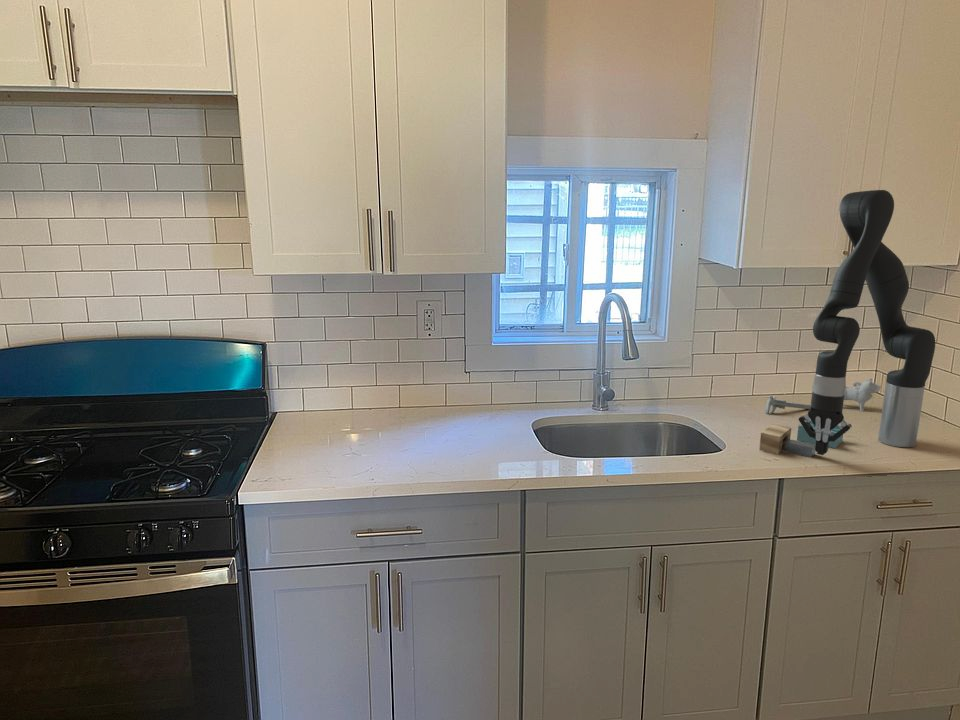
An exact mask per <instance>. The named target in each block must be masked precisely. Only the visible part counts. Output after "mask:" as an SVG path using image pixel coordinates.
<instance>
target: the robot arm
mask: <svg viewBox="0 0 960 720" xmlns="http://www.w3.org/2000/svg"><path fill="white" fill-rule="evenodd" d="M894 210H895V199H894V197H893V195H892V194H891V192H889V191H888V190H885V189H874V190H861V191H854V192H849V193H847V194H845V195H844V196H843V197H842V199H841V201H840V202H839V217H840V221H841V223H842V225H843V228H844V229H845V232H846V234H847V236H848V238H849V240H850V243H851V244H852V246H853V249H852V251H850V253H849V254H848V255H847V257H846V258H845V259H844V260H843V261H842V262H841V263H840V265H839V267H838V268H837V270H836V272H835V274H834V277H833V280H832V284H831V289H830V293H829V296H828V298H827V300H826V301H825V304H824V305H823V307H822V308H821V310H820V311H819V314H818V315H817V316H816V318H815V320H814V322H813V326H812V333H813V336H814V338H815V339H816V340H817V341H820V342H824V343H829V344H836V345H837V347H836V349H835V350H825V351H821V352H819V353H818V355H817V358H816V365H815V375H814V378H813V382H812V391H811V399H810V400H811V401H810V405H811V407H810V409H808V411H807V413H806V414H804V415H800V416H799V418H798V421H799V423H800V425H802V426H803V427H804V429H805V431H806V432H807V434H808V435H809V437H813V438H815V439H816V444H814V445H815V453H816V455H821V456H824V455H825V454H827V453H828V451H829V447H828V445H829V442H830V441H832V442H834V441H835V440H837V439H838V438H839V437H840V436H842V435H843V436H844V435H845V433H847V432H848V431H849V430H850V429H851V428H852V424H851V423H847V421H845V419H844V418H845V417H844V413H843V409H844V402H845V400H844V395H845V387H847V386H846V384H847V379H846V376H847V370H848V369H847V368H848V362H849V359H850V356H851V353H852V351H853V349H854V346H855V344H856V343H857V340H858V338H859V336H860V329H861V327H860V325H859V322H858V321H857V319H855V318H853V317H848V316H840V315H838V314H839V313H840V312H841V311H844V310H849V309H855V308H857V307H858V306H859V304H860V301H861V297H862V294H863V289H864V286H865V282H866V285H867V288H868V291H869V294H870V295H871V298H872V299H871V300H872V302H873V305H874V309H875V311H876V315H877V319H878V323H879V327H880V332H881V337H882V338H881V339H882V343H883V347H884V349H885V351H886V352H887V354H888V355H890V356H891V357H894V358H897V359H901V360H905V362H904V365H903V366H902V367H903V368H901V369H895V370H890V371H888V372H887V374H886V379H885V380H886V381H885V388H884V395H883V402H882V409H881V416H880V421H879V422H880V423H879V430H878V436H877V437H878V438H877V440H878V441H879V442H880V443H882V444H886V445H888V446H893V447H899V448H912V447H915V446H916V445H917V439H918V433H919V427H920V420H921V415H922V414H921V413H922V407H923V400H924V392H925V388H926V381H927V379H928V377H929V375H930V373H931V368H932V364H933V358H934V355H935V350H936V338H935V335H934V332H932V331H931V330H928V329H926V328H921V327H915V326H910V325H908V324H907V323H906V321H905V318H904V315H903V310H902V307H903V304H904V302H905V300H906V298H907V295H908V293H909V289H910V284H909V278H908V275H907V272H906V269H905V266H904V264H903V262H902V261H901V259H900V258H899V257H898V256H897V255H896V254H895V253H894V252H893V251H892V250H891V249H890V248H889V247H888V246H887V245H886V244H885V243H883V238H884V236H885V233H886V232H887V229H888V227H889V224H890V223H891V220H892V217H893V214H894ZM810 420H811V421H812V423H813V424H814V426H815V427H816V428H815V430H814V429H813V427H812V426H811V424H810V423H809V421H810ZM837 425H840V429H841V430H839V431H838V432H837V433H836V434H834V435H832V436H830V435H831V432H832V429H834V428H835V427H836V426H837ZM823 430H824V435H823ZM822 439H823V440H822Z"/></svg>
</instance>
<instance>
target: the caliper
mask: <svg viewBox="0 0 960 720" xmlns="http://www.w3.org/2000/svg"><path fill="white" fill-rule="evenodd" d="M776 397H777V396H775V395H769V398H767V401H766V403H765V411H764V412H765V414H767V415H769V414H771V413H773V414H775V411H776V410H777V408H779V409H783V410H785V408H795V409H802V410H803V409H804V410H810V407H811V404H808V403H807V404H806V403H801V402H800V403H799V402H798V403H797V402H790V401H787V400H783V399H777V398H776Z"/></svg>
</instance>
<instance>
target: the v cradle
mask: <svg viewBox="0 0 960 720" xmlns="http://www.w3.org/2000/svg"><path fill="white" fill-rule="evenodd" d="M809 423H810V424H811V426H812V427H813V429H814V430H815V428H816V427H815V426H814V424H813V423H812V421H811V419H810V421H809ZM840 425H841V424H838V425H837V426H836V427H835V428H834V429H832V432H831V435H830V436H832V435H834V434H836V433H837V432H838V431H839V430H841V429H840ZM823 435H824V430H823ZM843 438H844V434H843V435H842V436H840V437H839V438H838V439H837V440H835V441H834V442H832V441H830V442H829V445H828V448H831V447H832V449H836V448H837V447H838V446H839V445H840V444H841V443H842V442H843ZM797 440H799V441H800V442H802V441H803V442H805V443H807V442H808V443H809V444H812V443H813V444H814V445H816V439H815V438H813V437H809V435H808V434H807V432H806V431H805V429H804V427H803V426H802V424H799V425H798V427H797V436H796V441H797ZM822 440H823V439H822ZM841 441H842V442H841ZM840 442H841V443H840ZM839 443H840V444H839ZM838 444H839V445H838ZM837 445H838V446H837ZM836 446H837V447H836Z"/></svg>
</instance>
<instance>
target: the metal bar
mask: <svg viewBox="0 0 960 720" xmlns="http://www.w3.org/2000/svg"><path fill="white" fill-rule="evenodd" d="M815 445H816V444H812V443H807V442H802V441H797V440H794V439H791V438H790V439H786V438H783V442H782V451H781V452H785V451H786V452H787V453H790V454H791V453H792V454H794V455H800V456H804V457H807V456H808V458H812V457H814V455H815V453H816V451H815Z"/></svg>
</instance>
